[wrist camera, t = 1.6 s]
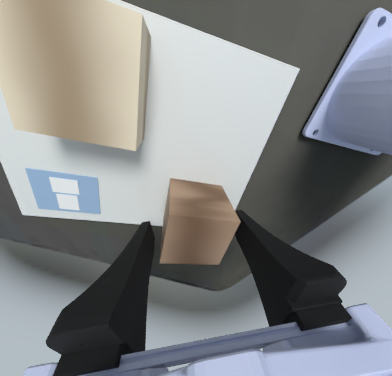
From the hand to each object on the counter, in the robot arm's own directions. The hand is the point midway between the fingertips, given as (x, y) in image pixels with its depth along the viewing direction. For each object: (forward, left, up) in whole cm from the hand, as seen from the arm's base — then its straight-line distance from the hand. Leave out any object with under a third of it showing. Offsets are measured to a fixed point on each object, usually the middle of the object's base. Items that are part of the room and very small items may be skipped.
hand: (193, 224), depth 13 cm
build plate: (+5, -5, -4) cm, 8 cm away
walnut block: (0, 0, -3) cm, 3 cm away
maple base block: (+8, -9, -3) cm, 12 cm away
